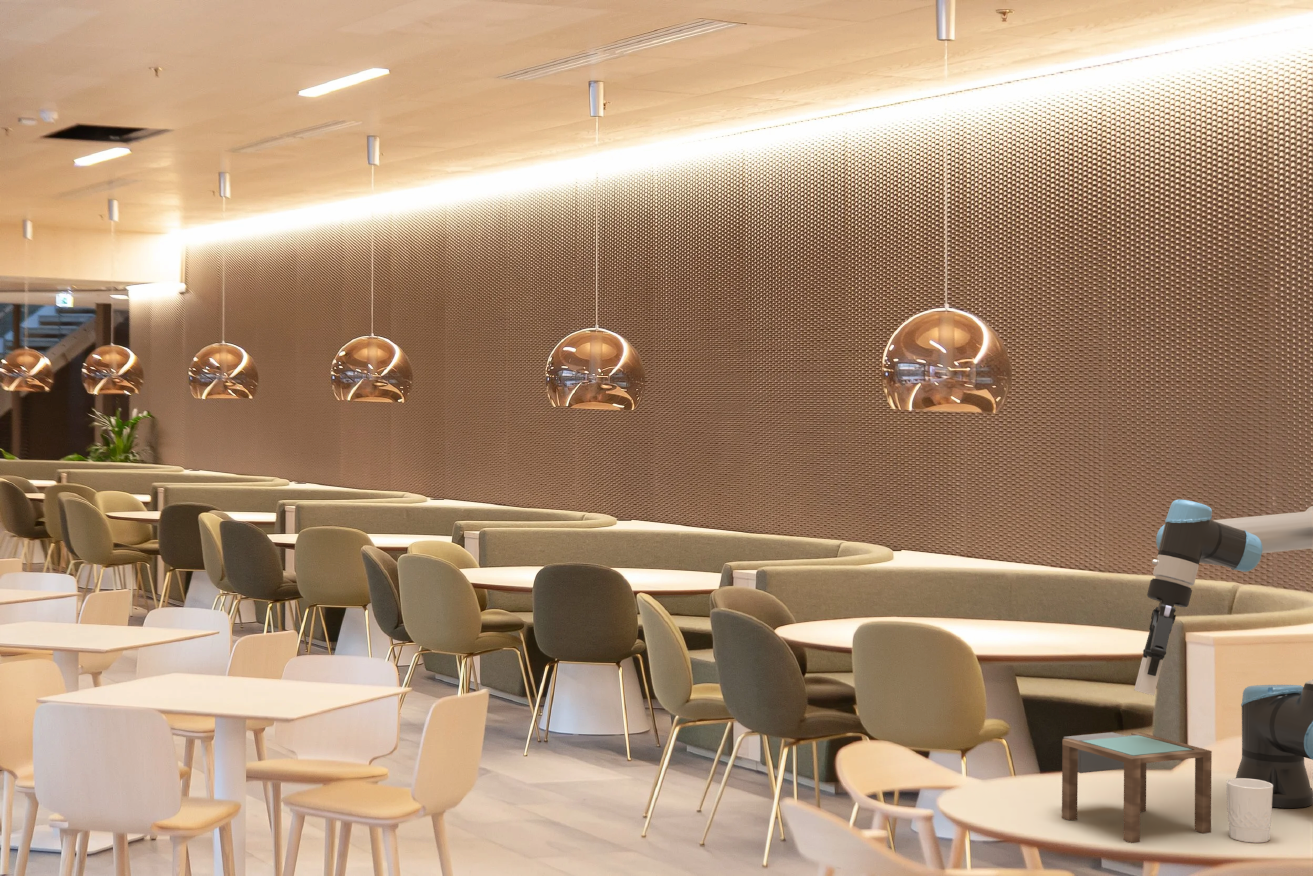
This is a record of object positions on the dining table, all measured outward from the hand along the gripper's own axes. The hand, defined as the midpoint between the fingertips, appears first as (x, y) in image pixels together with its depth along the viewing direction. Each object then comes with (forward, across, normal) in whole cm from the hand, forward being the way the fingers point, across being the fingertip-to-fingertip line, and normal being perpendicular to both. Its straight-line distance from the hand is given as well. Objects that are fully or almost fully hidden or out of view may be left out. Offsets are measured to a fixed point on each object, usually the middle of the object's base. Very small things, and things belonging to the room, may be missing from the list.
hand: (1143, 693), depth 272 cm
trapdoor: (+16, -8, +1) cm, 18 cm away
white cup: (+20, -3, +24) cm, 31 cm away
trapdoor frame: (+24, -7, +5) cm, 25 cm away
